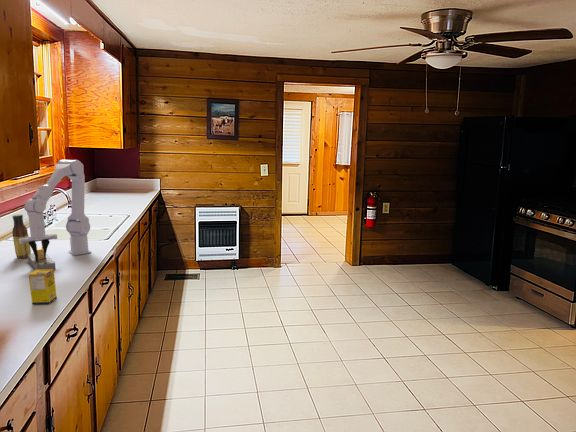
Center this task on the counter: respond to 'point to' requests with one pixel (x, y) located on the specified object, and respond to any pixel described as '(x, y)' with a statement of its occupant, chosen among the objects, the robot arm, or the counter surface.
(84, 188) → the robot arm
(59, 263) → the counter surface
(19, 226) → the sauce bottle
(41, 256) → the tan wooden block
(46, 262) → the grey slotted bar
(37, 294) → the supplement box
